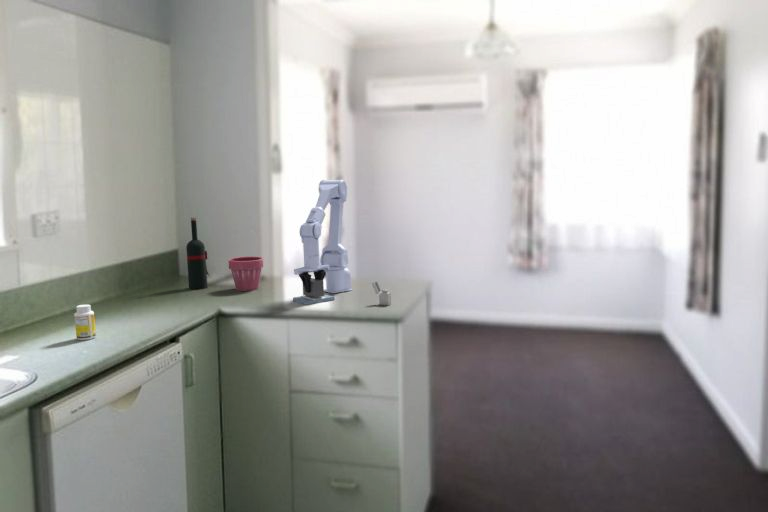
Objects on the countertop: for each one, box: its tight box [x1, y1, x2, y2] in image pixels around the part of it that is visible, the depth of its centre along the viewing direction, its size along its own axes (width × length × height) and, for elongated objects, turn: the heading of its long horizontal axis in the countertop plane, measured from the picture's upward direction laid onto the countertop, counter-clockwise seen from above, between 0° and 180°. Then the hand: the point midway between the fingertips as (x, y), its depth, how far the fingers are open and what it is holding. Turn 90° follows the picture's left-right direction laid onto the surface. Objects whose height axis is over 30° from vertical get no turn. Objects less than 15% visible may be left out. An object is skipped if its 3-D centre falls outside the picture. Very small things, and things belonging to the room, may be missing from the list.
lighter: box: [371, 280, 392, 306], centre depth 253 cm, size 7×2×8 cm, turn 54°
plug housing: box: [302, 277, 325, 298], centre depth 264 cm, size 4×8×6 cm, turn 38°
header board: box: [292, 293, 335, 306], centre depth 264 cm, size 12×10×4 cm
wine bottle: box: [185, 216, 210, 291], centre depth 300 cm, size 8×10×30 cm
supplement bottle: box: [74, 304, 97, 341], centre depth 216 cm, size 6×6×10 cm
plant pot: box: [228, 256, 264, 292], centre depth 293 cm, size 14×14×13 cm
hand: (313, 291), depth 264 cm, fingers closed on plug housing, 4 cm apart
